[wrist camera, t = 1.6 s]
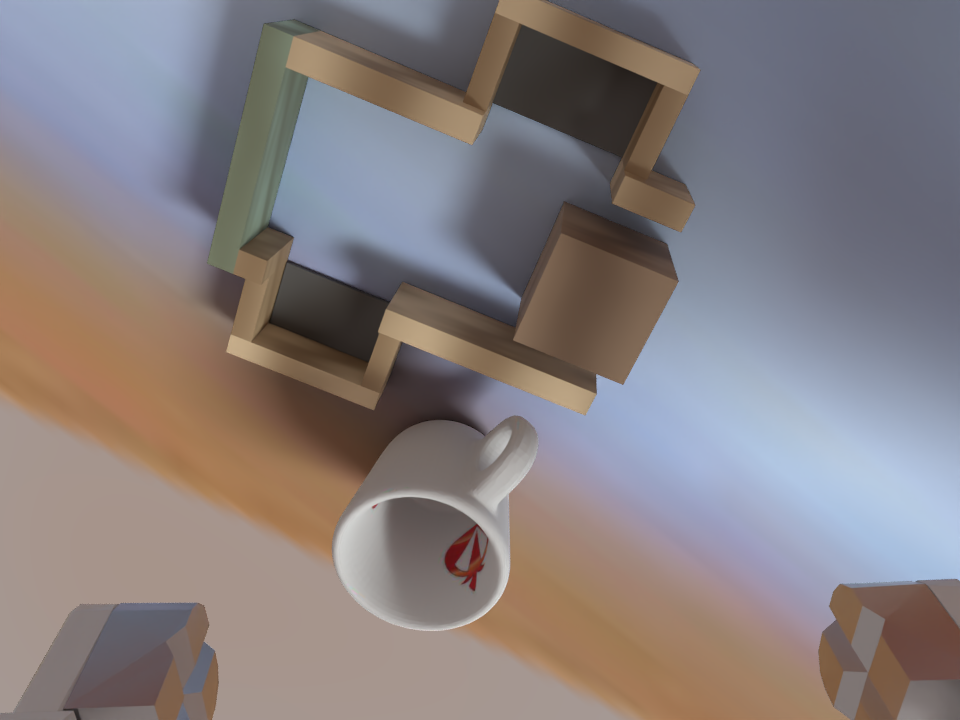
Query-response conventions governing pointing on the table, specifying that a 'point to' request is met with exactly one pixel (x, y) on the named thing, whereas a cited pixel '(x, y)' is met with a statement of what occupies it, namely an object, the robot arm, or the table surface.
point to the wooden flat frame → (496, 79)
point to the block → (595, 293)
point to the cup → (434, 524)
